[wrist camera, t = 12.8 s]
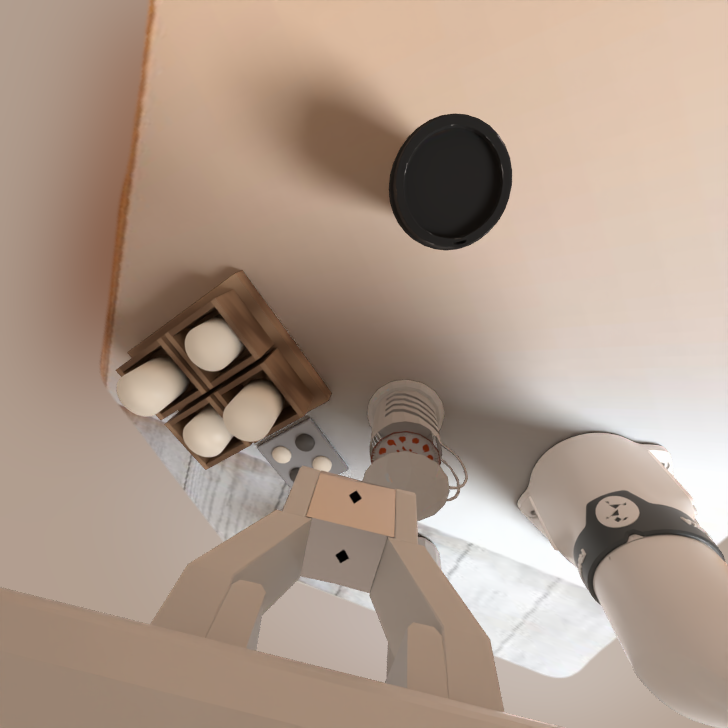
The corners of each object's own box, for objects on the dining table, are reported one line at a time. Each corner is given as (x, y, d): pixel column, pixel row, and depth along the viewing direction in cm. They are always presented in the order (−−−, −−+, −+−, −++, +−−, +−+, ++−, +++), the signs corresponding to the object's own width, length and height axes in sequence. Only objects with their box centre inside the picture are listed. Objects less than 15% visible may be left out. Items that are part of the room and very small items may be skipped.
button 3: (293, 405, 43) (280, 428, 38) (260, 424, 44) (243, 448, 39) (266, 370, 41) (249, 390, 37) (233, 391, 43) (213, 412, 38)
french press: (384, 367, 45) (363, 528, 22) (471, 403, 46) (539, 596, 23) (355, 430, 49) (311, 624, 26) (436, 462, 50) (463, 680, 26)
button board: (331, 393, 47) (320, 419, 41) (227, 450, 52) (205, 481, 46) (242, 270, 42) (215, 280, 36) (138, 347, 48) (99, 366, 42)
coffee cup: (401, 246, 40) (399, 264, 26) (386, 159, 37) (375, 126, 23) (482, 229, 38) (526, 238, 24) (473, 136, 35) (517, 87, 21)
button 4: (250, 423, 47) (233, 446, 43) (221, 439, 49) (202, 463, 44) (225, 392, 46) (205, 412, 41) (196, 410, 47) (174, 431, 43)
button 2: (198, 382, 43) (173, 403, 38) (168, 402, 44) (140, 424, 40) (168, 347, 41) (139, 364, 37) (138, 368, 43) (106, 387, 38)
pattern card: (348, 467, 51) (347, 471, 50) (297, 491, 54) (295, 496, 53) (310, 417, 49) (308, 421, 48) (258, 445, 51) (256, 449, 51)
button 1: (259, 341, 43) (241, 356, 38) (227, 361, 44) (206, 379, 40) (231, 304, 42) (209, 316, 37) (199, 327, 43) (174, 341, 38)
